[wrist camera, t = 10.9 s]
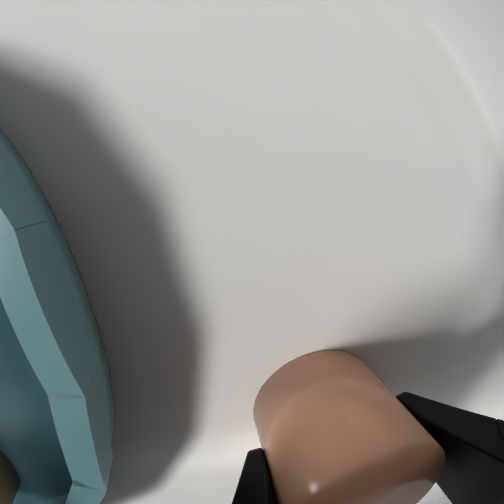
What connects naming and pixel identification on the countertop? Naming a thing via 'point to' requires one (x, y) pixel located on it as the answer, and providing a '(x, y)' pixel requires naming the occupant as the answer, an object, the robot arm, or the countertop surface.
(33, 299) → the teal round plate
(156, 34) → the countertop surface
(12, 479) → the bead walnut
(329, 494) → the bead terracotta
